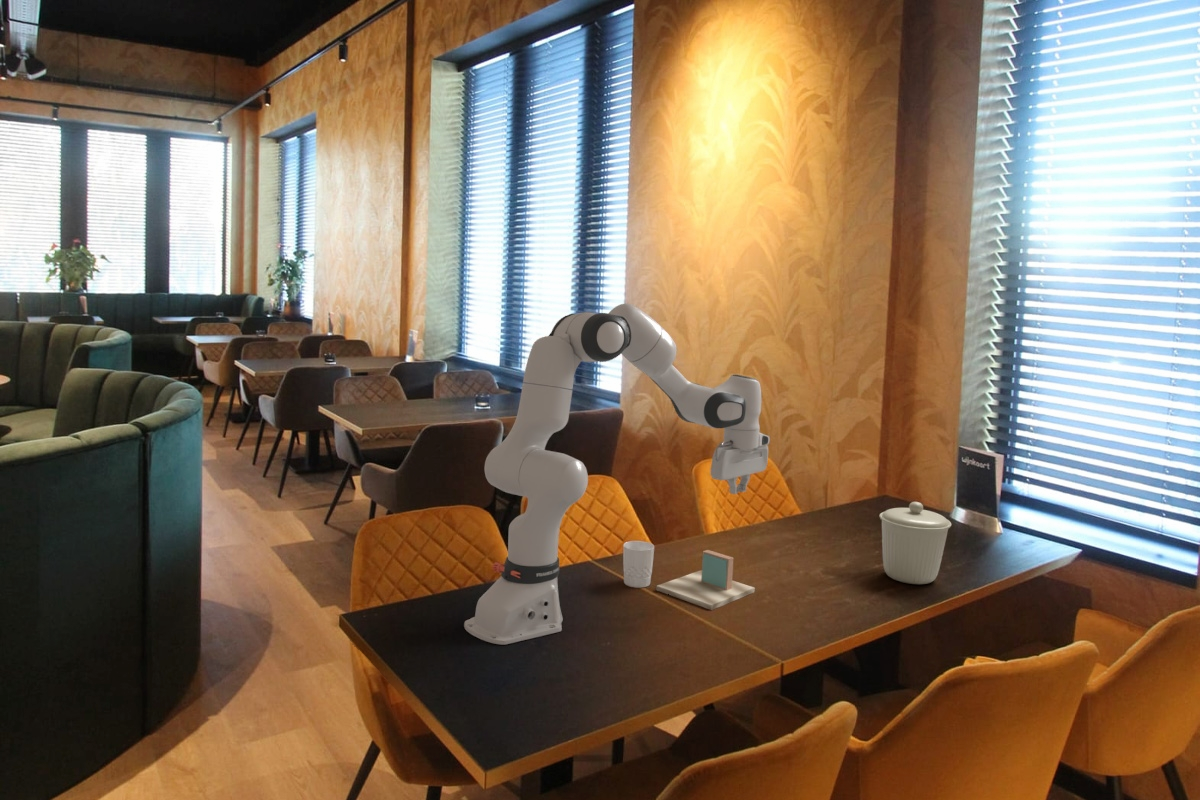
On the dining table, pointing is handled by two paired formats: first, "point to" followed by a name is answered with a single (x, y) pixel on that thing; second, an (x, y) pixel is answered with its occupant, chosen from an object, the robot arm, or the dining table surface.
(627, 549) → the white cup
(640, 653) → the dining table surface
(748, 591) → the board
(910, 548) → the canister
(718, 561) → the block
